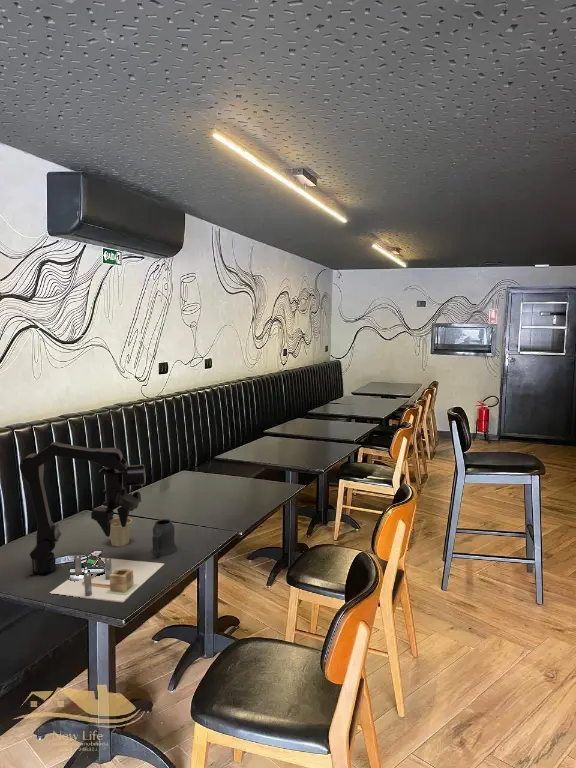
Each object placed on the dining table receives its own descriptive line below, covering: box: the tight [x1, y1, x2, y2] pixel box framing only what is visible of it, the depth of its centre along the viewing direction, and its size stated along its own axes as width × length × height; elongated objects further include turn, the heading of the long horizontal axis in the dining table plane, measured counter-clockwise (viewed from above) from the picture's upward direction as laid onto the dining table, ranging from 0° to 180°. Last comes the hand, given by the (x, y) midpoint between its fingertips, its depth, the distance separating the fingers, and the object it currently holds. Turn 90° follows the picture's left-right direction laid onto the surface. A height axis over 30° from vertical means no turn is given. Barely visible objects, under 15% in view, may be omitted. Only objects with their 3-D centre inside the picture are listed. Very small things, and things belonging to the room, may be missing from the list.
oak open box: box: [110, 568, 134, 593], centre depth 169 cm, size 5×5×5 cm
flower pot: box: [109, 517, 133, 547], centre depth 205 cm, size 9×9×9 cm
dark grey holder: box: [151, 518, 178, 557], centre depth 195 cm, size 12×9×11 cm
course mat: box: [49, 557, 165, 604], centre depth 177 cm, size 25×26×1 cm
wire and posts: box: [73, 554, 112, 596], centre depth 174 cm, size 10×18×6 cm, turn 31°
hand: (116, 531), depth 186 cm, fingers open, 9 cm apart
